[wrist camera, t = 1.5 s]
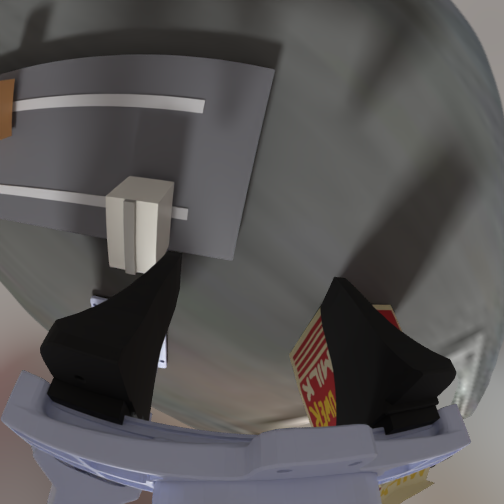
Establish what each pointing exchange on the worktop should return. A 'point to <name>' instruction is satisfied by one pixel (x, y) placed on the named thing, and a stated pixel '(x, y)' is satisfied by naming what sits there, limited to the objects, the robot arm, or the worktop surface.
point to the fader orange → (6, 107)
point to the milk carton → (324, 399)
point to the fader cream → (138, 223)
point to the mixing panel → (134, 142)
